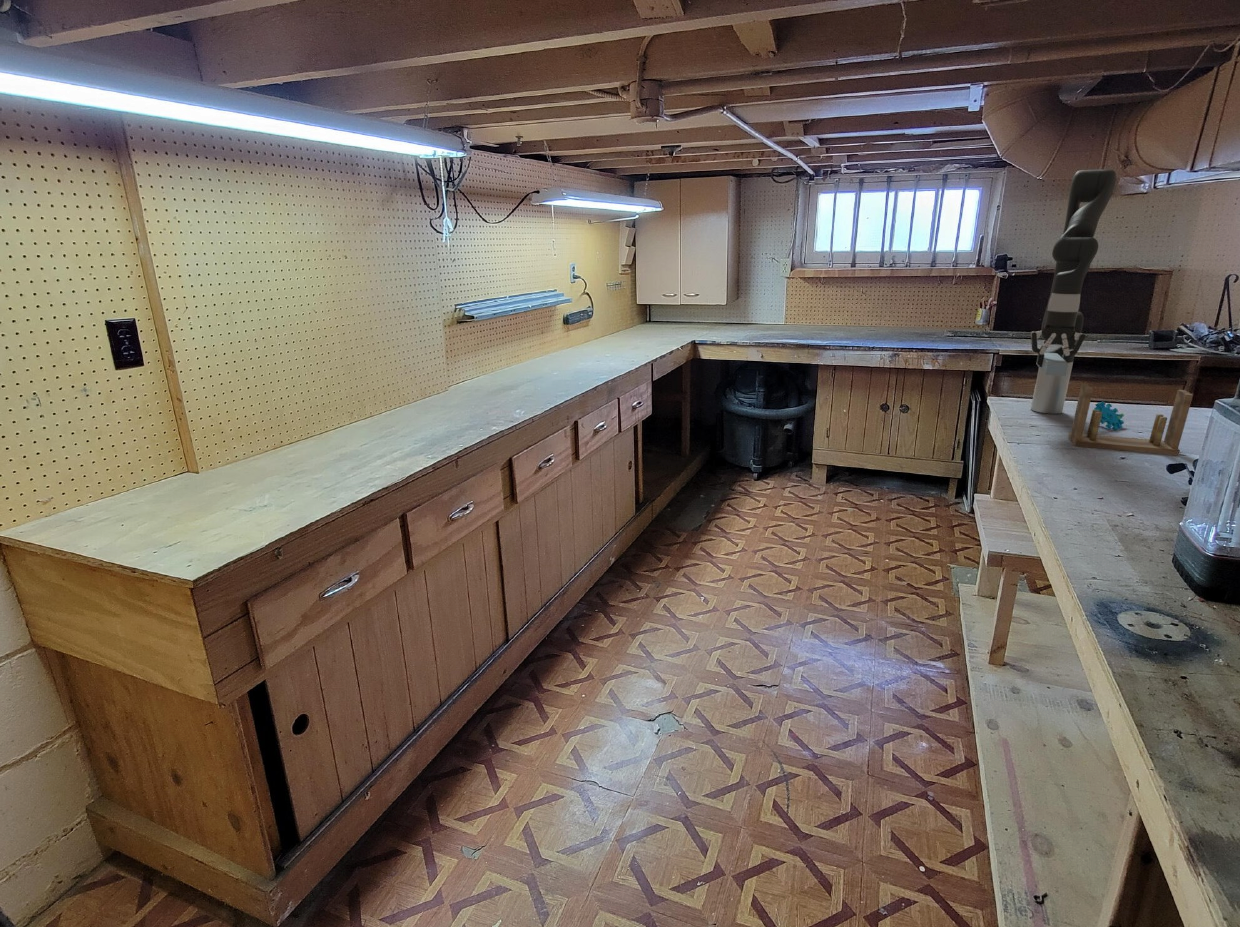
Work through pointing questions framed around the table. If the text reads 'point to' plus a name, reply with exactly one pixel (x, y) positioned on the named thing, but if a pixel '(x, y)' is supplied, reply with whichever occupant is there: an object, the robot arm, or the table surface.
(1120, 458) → the table surface
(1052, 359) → the grey rectangular block
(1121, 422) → the gear
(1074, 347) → the robot arm
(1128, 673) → the table surface
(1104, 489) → the table surface
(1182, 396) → the stand
